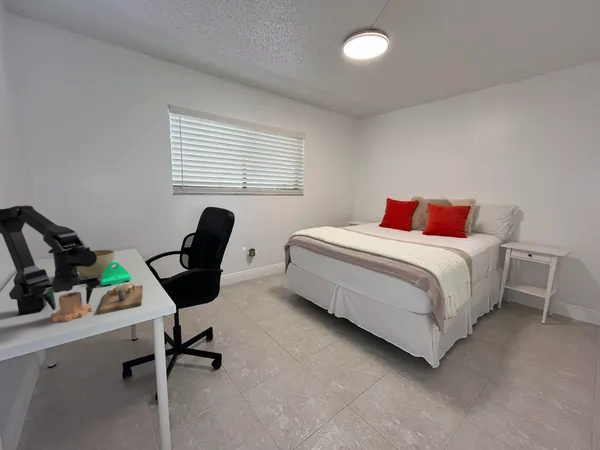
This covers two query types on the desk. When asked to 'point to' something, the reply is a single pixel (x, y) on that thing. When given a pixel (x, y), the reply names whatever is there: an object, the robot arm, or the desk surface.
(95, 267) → the tan bowl
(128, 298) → the carrier
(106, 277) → the camera mount
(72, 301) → the gear
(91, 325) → the desk surface
